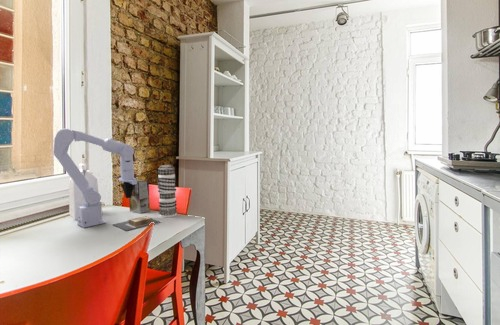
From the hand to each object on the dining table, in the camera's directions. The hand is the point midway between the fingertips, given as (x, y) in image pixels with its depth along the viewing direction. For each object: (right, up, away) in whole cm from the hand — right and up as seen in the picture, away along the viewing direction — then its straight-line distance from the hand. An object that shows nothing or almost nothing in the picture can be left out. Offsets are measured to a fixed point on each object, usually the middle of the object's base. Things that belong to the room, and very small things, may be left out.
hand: (128, 197), depth 141 cm
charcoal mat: (+7, -11, -9) cm, 16 cm away
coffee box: (0, -9, +14) cm, 17 cm away
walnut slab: (+7, -9, -8) cm, 14 cm away
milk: (-25, -10, +7) cm, 28 cm away
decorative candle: (+18, -9, +5) cm, 21 cm away
